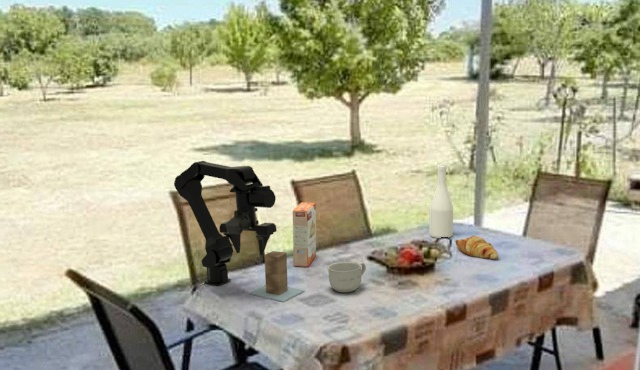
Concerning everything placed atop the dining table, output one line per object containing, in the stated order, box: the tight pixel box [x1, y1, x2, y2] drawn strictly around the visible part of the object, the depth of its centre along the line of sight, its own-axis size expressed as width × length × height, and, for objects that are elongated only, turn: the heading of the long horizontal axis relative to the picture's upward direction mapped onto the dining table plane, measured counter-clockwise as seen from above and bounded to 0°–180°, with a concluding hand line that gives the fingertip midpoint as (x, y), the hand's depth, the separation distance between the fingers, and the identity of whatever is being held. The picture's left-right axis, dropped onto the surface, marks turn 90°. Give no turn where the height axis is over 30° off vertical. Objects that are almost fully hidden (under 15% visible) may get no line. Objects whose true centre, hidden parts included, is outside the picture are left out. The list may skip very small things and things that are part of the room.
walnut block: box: [264, 250, 289, 295], centre depth 208 cm, size 5×5×12 cm
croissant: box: [454, 235, 499, 260], centre depth 245 cm, size 21×10×8 cm, turn 33°
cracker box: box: [292, 201, 317, 268], centre depth 239 cm, size 14×6×21 cm, turn 168°
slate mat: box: [248, 284, 306, 303], centre depth 209 cm, size 14×11×1 cm
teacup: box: [327, 261, 367, 293], centre depth 211 cm, size 14×11×8 cm
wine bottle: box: [428, 163, 454, 239], centre depth 268 cm, size 10×10×30 cm
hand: (249, 254), depth 210 cm, fingers open, 9 cm apart
